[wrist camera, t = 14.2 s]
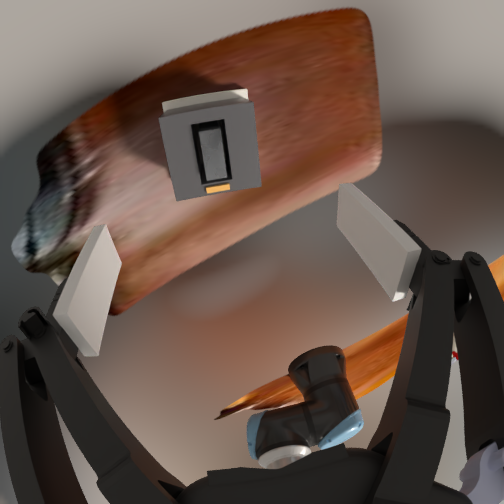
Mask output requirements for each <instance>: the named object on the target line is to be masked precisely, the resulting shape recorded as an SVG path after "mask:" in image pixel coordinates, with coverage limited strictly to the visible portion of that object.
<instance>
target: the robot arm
mask: <svg viewBox="0 0 504 504" xmlns="http://www.w3.org/2000/svg"><path fill="white" fill-rule="evenodd" d="M337 227H338V228H339V229H340V231H341V232H342V233H343V234H344V236H345V237H346V238H347V240H348V241H349V242H350V243H351V245H352V246H353V247H354V249H355V250H356V251H357V253H358V254H359V255H360V257H361V258H362V259H363V261H364V262H365V263H366V265H367V266H368V268H369V269H370V270H371V272H372V273H373V274H374V276H375V277H376V279H377V280H378V281H379V283H380V284H381V286H382V287H383V289H384V290H385V291H386V293H387V294H388V296H389V297H390V299H391V300H392V301H396V300H399V299H403V298H405V297H406V295H407V292H408V289H409V288H410V289H411V291H412V292H413V296H412V298H411V301H410V303H409V306H408V308H407V310H408V311H409V315H408V321H407V326H406V331H405V336H404V340H403V345H402V349H401V354H400V358H399V362H398V366H397V369H396V373H395V377H394V380H393V384H392V387H391V391H390V394H389V397H388V400H387V403H386V406H385V409H384V412H383V415H382V418H381V421H380V424H379V426H378V428H377V430H376V432H375V434H374V436H373V437H372V439H371V441H370V443H369V445H368V448H367V449H363V448H345V445H344V443H342V442H343V441H346V440H347V439H349V438H351V437H352V436H354V435H355V434H357V433H358V432H359V431H360V430H361V429H362V427H363V425H364V421H363V418H362V415H361V410H360V409H359V407H358V404H357V402H356V399H355V397H354V395H353V392H352V390H351V387H350V385H349V383H348V380H347V378H346V361H345V356H344V354H343V351H342V349H341V348H339V347H337V346H322V347H318V348H315V349H312V350H309V351H307V352H305V353H303V354H301V355H300V356H298V357H297V358H296V359H294V360H293V361H292V363H291V364H290V365H289V368H288V371H289V375H290V378H291V380H292V381H293V382H294V384H295V385H296V386H297V388H298V389H299V390H300V392H301V393H302V394H303V397H304V400H305V402H301V403H298V404H294V405H290V406H286V407H282V408H278V409H274V410H270V411H268V410H266V411H264V412H261V413H257V414H254V415H252V416H251V417H250V418H249V419H248V422H247V442H248V449H249V453H250V456H251V457H252V459H256V460H258V463H259V465H260V466H262V467H264V468H266V469H259V468H258V469H257V468H243V467H239V468H231V469H222V470H212V471H207V475H208V476H207V477H204V478H201V479H199V480H197V481H195V482H194V483H192V484H190V485H189V486H188V487H186V486H185V485H184V484H182V482H180V481H179V480H178V479H177V478H176V477H174V476H173V475H171V474H170V473H169V472H168V471H166V470H165V469H164V468H163V467H162V466H161V465H160V464H159V463H158V462H157V461H156V460H155V459H154V458H153V456H152V455H151V454H150V453H149V452H148V451H147V450H146V449H145V448H144V447H143V445H142V444H141V443H140V442H139V441H138V440H137V438H136V437H135V436H134V435H133V434H132V433H131V431H130V430H129V429H128V428H127V427H126V425H125V424H124V423H123V421H122V420H121V419H120V418H119V417H118V415H117V414H116V413H115V411H114V410H113V408H112V407H111V406H110V405H109V403H108V402H107V400H106V399H105V397H104V396H103V394H102V393H101V392H100V390H99V389H98V387H97V386H96V384H95V383H94V381H93V380H92V378H91V377H90V375H89V373H88V372H87V370H86V369H85V367H84V366H83V364H82V362H81V361H80V359H79V358H78V357H77V352H78V349H79V350H80V351H81V353H82V354H83V355H84V356H85V357H87V356H99V351H100V346H101V341H102V337H103V332H104V328H105V323H106V318H107V315H108V311H109V307H110V303H111V299H112V295H113V292H114V288H115V284H116V281H117V277H118V274H119V271H120V267H121V264H122V263H121V261H120V258H119V256H118V254H117V251H116V249H115V246H114V244H113V241H112V239H111V236H110V234H109V231H108V229H107V226H106V224H104V225H100V226H95V227H94V228H93V230H92V232H91V234H90V235H89V237H88V239H87V241H86V243H85V245H84V247H83V249H82V251H81V253H80V255H79V257H78V259H77V261H76V263H75V265H74V267H73V269H72V271H71V273H70V275H69V278H66V279H65V280H64V281H63V282H62V283H61V284H60V286H59V287H58V290H57V292H56V295H55V296H54V298H53V302H52V303H51V306H50V308H49V310H48V313H47V315H46V316H45V315H44V314H43V312H42V311H41V309H40V308H39V307H32V308H30V309H28V310H26V311H25V312H24V313H23V315H22V316H21V318H20V320H19V322H18V324H19V325H18V327H19V328H20V329H21V331H22V332H23V333H24V334H25V336H26V337H27V339H25V340H22V341H19V340H18V339H17V337H16V336H15V335H9V336H7V337H6V338H5V339H4V340H3V341H2V342H1V344H0V420H1V429H2V436H3V442H4V448H5V454H6V458H7V464H8V468H9V473H10V476H11V481H12V484H13V488H14V491H15V495H16V498H17V501H18V504H88V503H87V500H86V498H85V496H84V494H83V491H82V489H81V487H80V484H79V482H78V479H77V477H76V475H75V472H74V469H73V467H72V463H71V461H70V458H69V455H68V452H67V449H66V445H65V442H64V439H63V436H62V432H61V429H60V425H59V421H58V417H57V413H56V409H55V405H56V407H57V409H58V411H59V413H60V415H61V417H62V419H63V421H64V423H65V425H66V426H67V428H68V430H69V432H70V433H71V435H72V437H73V439H74V440H75V442H76V444H77V445H78V447H79V449H80V450H81V452H82V453H83V455H84V457H85V458H86V460H87V461H88V463H89V464H90V465H91V467H92V468H93V470H94V471H95V472H96V474H97V476H98V480H97V482H96V483H97V486H98V488H99V490H100V491H101V492H102V494H103V495H104V497H105V498H106V499H107V500H108V502H109V503H110V504H499V503H500V502H501V501H502V500H504V302H503V299H502V297H501V294H500V292H499V289H498V287H497V285H496V282H495V280H494V278H493V276H492V273H491V271H490V269H489V267H488V265H487V263H486V261H485V260H484V258H483V257H482V256H481V255H479V254H477V253H475V252H466V253H465V254H464V256H463V259H462V260H452V259H451V258H450V257H449V256H448V255H447V254H445V253H444V252H441V251H438V250H432V251H431V250H430V249H429V248H428V247H427V246H426V245H425V244H424V243H423V242H422V241H421V240H420V239H419V238H418V237H417V236H416V235H415V234H414V233H413V232H411V230H410V229H409V228H408V227H407V226H406V225H405V224H403V223H401V222H399V221H398V220H392V219H391V218H390V217H389V216H388V215H387V214H386V213H385V212H384V211H383V210H381V209H380V208H379V207H378V206H377V205H376V204H375V203H374V202H373V201H371V200H370V199H369V198H368V197H367V196H366V195H365V194H364V193H362V192H361V191H360V190H359V189H358V188H357V187H355V186H354V185H353V184H352V183H344V184H339V199H338V213H337ZM453 332H454V337H455V342H456V348H457V354H458V360H459V366H460V375H461V384H462V394H463V406H464V431H465V432H464V433H465V447H466V455H467V460H468V461H467V463H466V465H465V467H464V468H463V469H462V471H461V472H460V480H461V481H462V482H463V485H462V488H461V490H460V491H457V490H454V489H452V488H450V487H447V486H445V485H442V484H440V483H438V482H435V481H434V478H435V475H436V472H437V469H438V465H439V462H440V459H441V455H442V451H443V448H444V444H445V440H446V436H447V431H448V427H449V422H450V411H449V410H448V409H446V407H445V402H446V397H447V391H448V384H449V377H450V368H451V360H452V348H453ZM54 403H55V404H54ZM340 443H342V444H340ZM338 444H339V445H338ZM315 445H318V447H319V448H320V449H323V450H320V451H316V452H312V453H311V450H310V447H311V446H315ZM335 445H336V446H335Z"/></svg>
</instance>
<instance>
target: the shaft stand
mask: <svg viewBox="0 0 504 504" xmlns="http://www.w3.org/2000/svg"><path fill="white" fill-rule="evenodd" d="M240 97H244V98H246V99H248V93H247V89H237V90H228V91H221V92H214V93H207V94H201V95H195V96H190V97H184V98H179V99H174V100H169V101H165V102H163V103H162V106H163V111H164V112H165V111H166V110H169V109H174V108H179V107H184V106H189V105H194V104H200V103H205V102H211V101H218V100H225V99H232V98H240ZM194 126H195V132H196V138H197V144H198V150H199V156H200V161H201V164H204V167H205V172H206V178H207V181H209V180H215V179H221V178H227V173H226V165H225V160H226V153H225V146H224V139H223V131H222V124H221V119H220V120H214V121H208V122H202V123H197V124H194Z"/></svg>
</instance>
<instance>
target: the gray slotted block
mask: <svg viewBox="0 0 504 504" xmlns="http://www.w3.org/2000/svg"><path fill="white" fill-rule="evenodd" d="M220 119H221V124H222V131H223V139H224V146H225V153H226V160H225V165H226V173H227V178H221V179H215V180H209V181H207V178H206V172H205V167H204V164H201V161H200V156H199V150H198V144H197V138H196V132H195V126H194V124H197V123H202V122H208V121H214V120H220ZM159 123H160V128H161V133H162V138H163V143H164V148H165V153H166V157H167V162H168V167H169V171H170V175H171V180H172V184H173V188H174V193H175V197H176V201H181V200H186V199H191V198H196V197H202V196H207V195H213V194H218V193H224V192H230V191H236V190H242V189H248V188H255V187H261V176H260V165H259V154H258V143H257V133H256V123H255V113H254V103H253V102H252V101H250V100H248V99H246V98H244V97H240V98H232V99H225V100H218V101H211V102H205V103H200V104H194V105H189V106H184V107H179V108H174V109H169V110H166V111H165V112H164V113H163V114H162V115H161V116H160V117H159Z"/></svg>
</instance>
